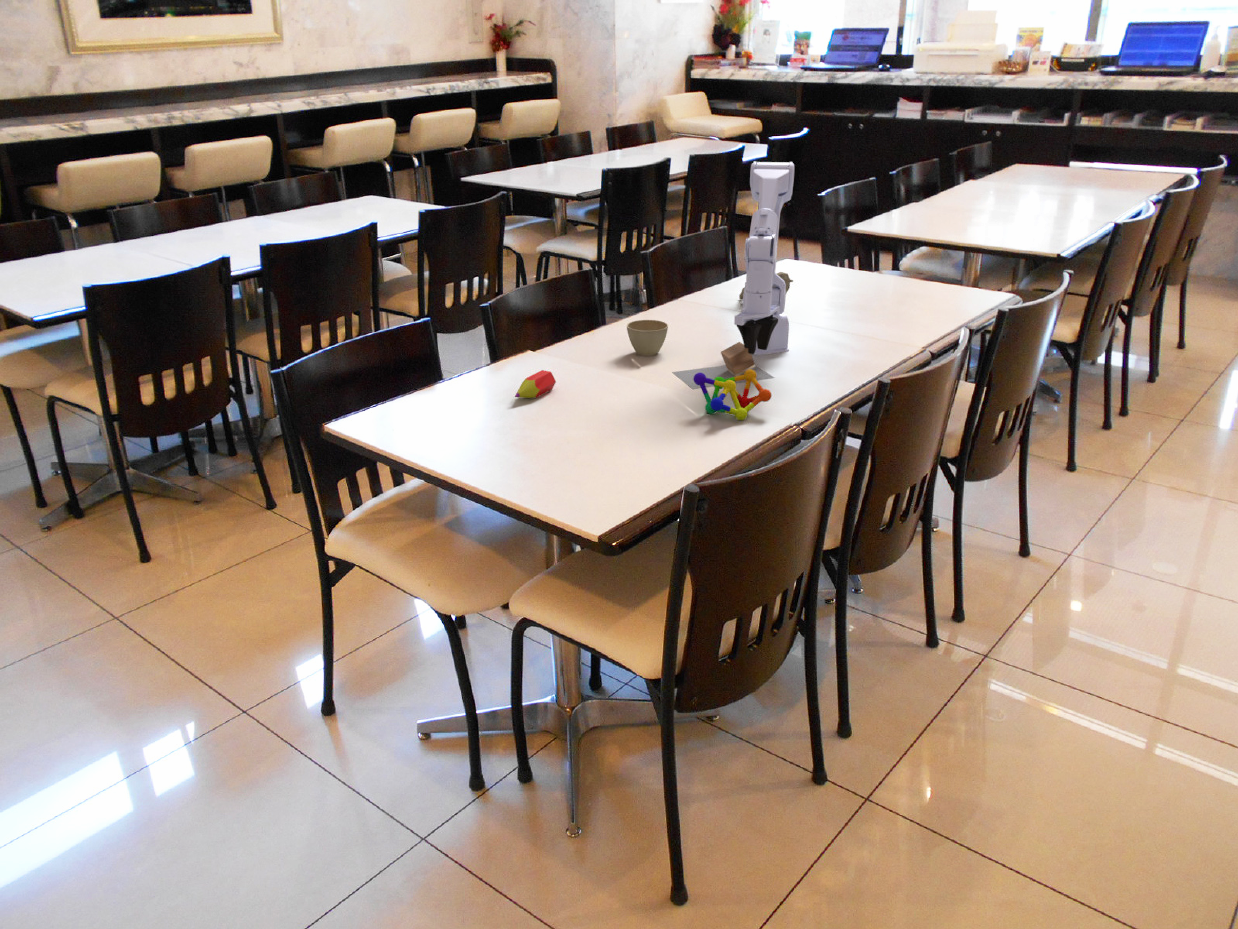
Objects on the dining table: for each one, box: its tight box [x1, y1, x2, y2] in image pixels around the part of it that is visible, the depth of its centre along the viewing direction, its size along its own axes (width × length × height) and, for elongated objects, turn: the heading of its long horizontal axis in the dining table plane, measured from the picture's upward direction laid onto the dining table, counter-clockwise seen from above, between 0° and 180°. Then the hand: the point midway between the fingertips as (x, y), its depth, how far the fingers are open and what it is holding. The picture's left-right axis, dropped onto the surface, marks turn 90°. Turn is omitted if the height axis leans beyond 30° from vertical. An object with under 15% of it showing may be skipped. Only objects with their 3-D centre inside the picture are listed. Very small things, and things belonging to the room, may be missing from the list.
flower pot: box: [626, 319, 669, 357], centre depth 228 cm, size 10×10×7 cm
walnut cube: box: [720, 341, 757, 376], centre depth 213 cm, size 5×5×5 cm
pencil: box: [514, 369, 557, 399], centre depth 202 cm, size 5×12×4 cm, turn 149°
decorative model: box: [694, 369, 772, 421], centre depth 192 cm, size 13×9×15 cm
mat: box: [672, 364, 775, 390], centre depth 213 cm, size 20×12×1 cm, turn 109°
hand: (756, 351), depth 212 cm, fingers open, 4 cm apart
